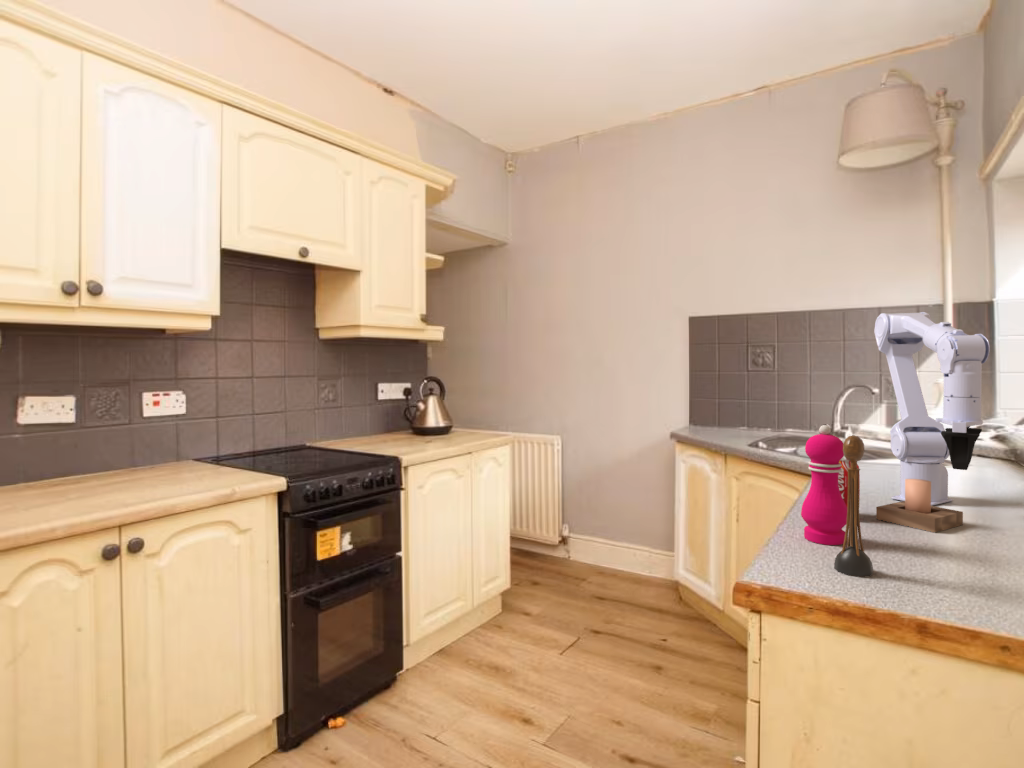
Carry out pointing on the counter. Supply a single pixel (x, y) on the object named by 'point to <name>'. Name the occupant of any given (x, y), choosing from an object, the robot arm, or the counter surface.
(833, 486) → the pepper mill
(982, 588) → the counter surface
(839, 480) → the soda can
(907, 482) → the peg
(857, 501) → the wooden tabletop sculpture
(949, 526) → the socket block
